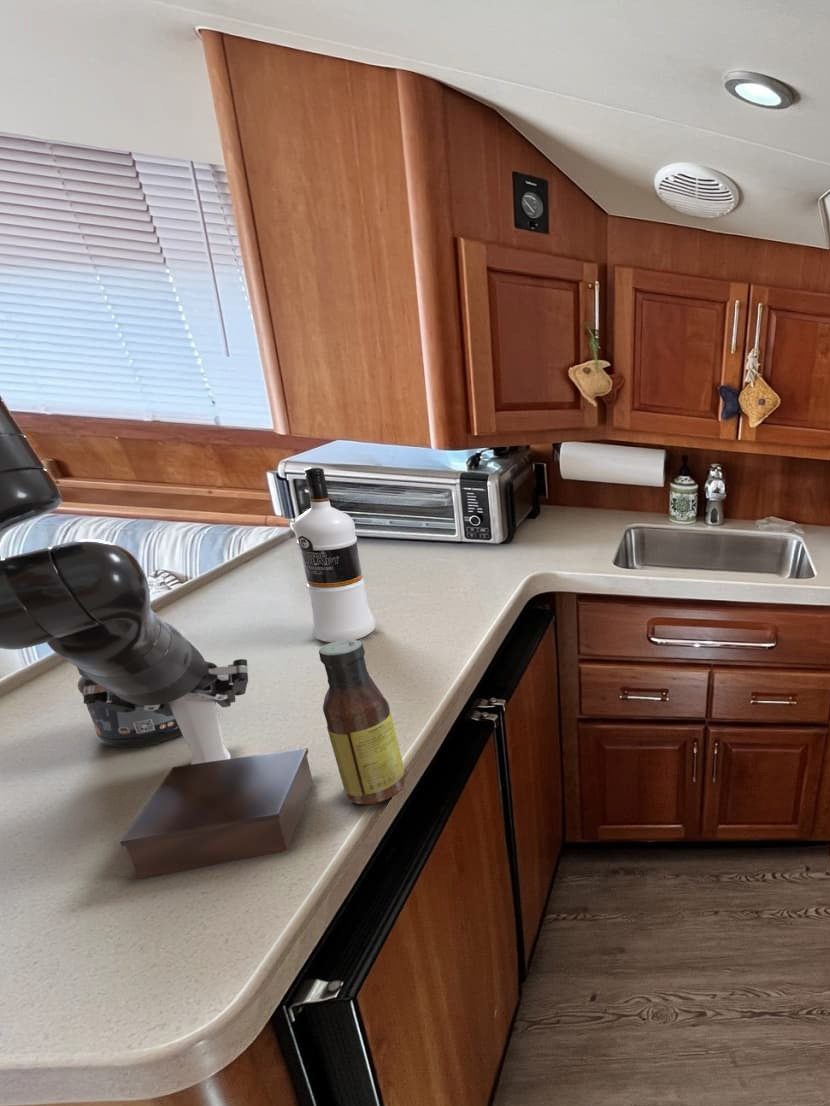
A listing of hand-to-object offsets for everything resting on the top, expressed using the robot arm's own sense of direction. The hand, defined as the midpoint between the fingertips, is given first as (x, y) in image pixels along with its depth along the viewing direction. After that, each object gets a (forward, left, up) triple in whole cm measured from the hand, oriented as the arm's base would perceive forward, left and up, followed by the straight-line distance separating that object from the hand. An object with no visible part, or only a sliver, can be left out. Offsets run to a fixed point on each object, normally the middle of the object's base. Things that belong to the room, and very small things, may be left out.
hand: (199, 703), depth 78 cm
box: (+6, -16, -8) cm, 19 cm away
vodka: (+8, +36, -8) cm, 38 cm away
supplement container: (-9, +9, -8) cm, 15 cm away
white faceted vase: (0, -2, -8) cm, 8 cm away
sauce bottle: (+19, -14, -8) cm, 25 cm away
